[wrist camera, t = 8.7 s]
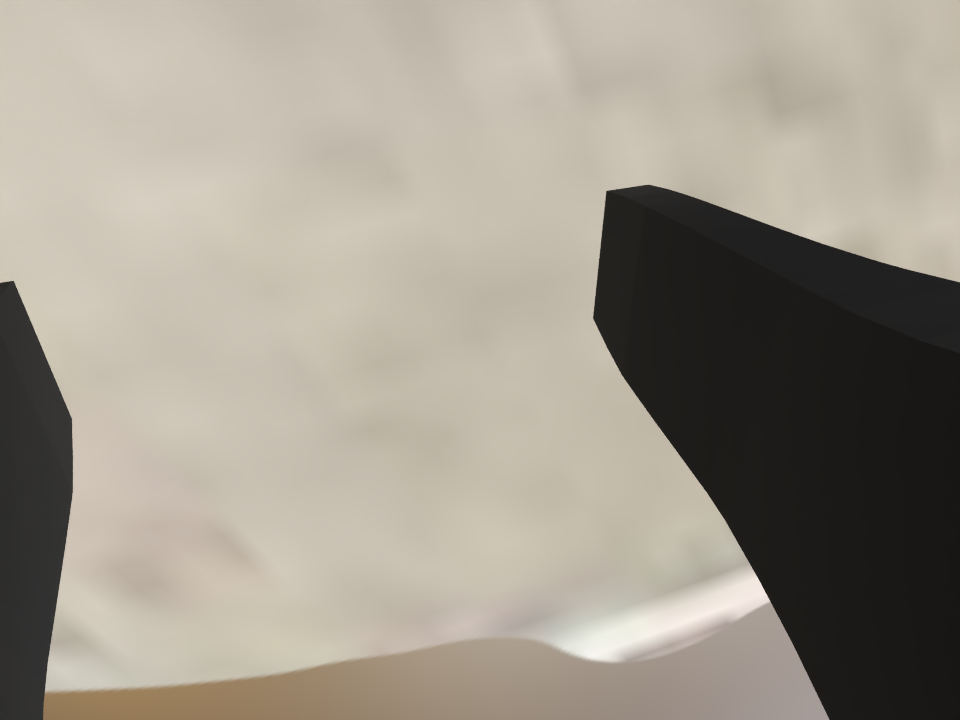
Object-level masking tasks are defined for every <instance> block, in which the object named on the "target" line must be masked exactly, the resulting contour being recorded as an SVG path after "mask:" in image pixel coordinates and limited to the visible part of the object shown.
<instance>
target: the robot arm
mask: <svg viewBox="0 0 960 720" xmlns="http://www.w3.org/2000/svg"><path fill="white" fill-rule="evenodd" d="M593 319H594V321H595V323H596V325H597V327H598V329H599V331H600V333H601V335H602V338H603V340H604V342H605V344H606V346H607V348H608V350H609V352H610V354H611V355H612V357H613V359H614V361H615V363H616V365H617V367H618V368H619V370H620V372H621V374H622V376H623V377H624V379H625V380H626V381H627V383H628V384H629V386H630V387H631V389H632V390H633V391H634V393H635V394H636V396H637V397H638V398H639V400H640V401H641V403H642V404H643V405H644V407H645V408H646V410H647V411H648V412H649V414H650V415H651V417H652V418H653V419H654V421H655V422H656V424H657V425H658V426H659V428H660V429H661V430H662V432H663V433H664V434H665V436H666V437H667V439H668V440H669V441H670V443H671V444H672V445H673V447H674V448H675V449H676V451H677V452H678V454H679V455H680V456H681V458H682V459H683V460H684V462H685V463H686V465H687V466H688V467H689V469H690V470H691V471H692V473H693V474H694V475H695V477H696V478H697V480H698V481H699V482H700V484H701V485H702V486H703V488H704V489H705V491H706V492H707V493H708V495H709V496H710V498H711V499H712V501H713V502H714V504H715V505H716V507H717V509H718V510H719V512H720V513H721V515H722V516H723V518H724V519H725V521H726V522H727V524H728V526H729V528H730V530H731V531H732V533H733V535H734V537H735V538H736V540H737V542H738V544H739V545H740V547H741V549H742V551H743V552H744V554H745V556H746V558H747V559H748V561H749V563H750V565H751V566H752V568H753V570H754V572H755V573H756V575H757V577H758V579H759V581H760V582H761V584H762V586H763V588H764V590H765V592H766V594H767V596H768V598H769V600H770V601H771V603H772V605H773V607H774V609H775V611H776V613H777V615H778V617H779V618H780V620H781V622H782V624H783V626H784V628H785V630H786V632H787V633H788V636H789V637H790V639H791V641H792V643H793V645H794V647H795V649H796V651H797V653H798V655H799V657H800V659H801V662H802V664H803V666H804V668H805V670H806V672H807V674H808V676H809V678H810V680H811V682H812V684H813V686H814V688H815V691H816V692H817V695H818V697H819V699H820V701H821V703H822V705H823V707H824V709H825V711H826V713H827V715H828V717H829V719H830V720H960V282H956V281H952V280H948V279H943V278H939V277H935V276H931V275H927V274H923V273H919V272H915V271H911V270H907V269H903V268H899V267H896V266H892V265H889V264H885V263H881V262H878V261H875V260H871V259H868V258H865V257H862V256H859V255H856V254H852V253H849V252H846V251H843V250H840V249H837V248H834V247H830V246H827V245H824V244H821V243H818V242H815V241H813V240H810V239H807V238H804V237H801V236H798V235H795V234H792V233H790V232H787V231H784V230H781V229H779V228H776V227H773V226H770V225H768V224H765V223H762V222H759V221H757V220H754V219H751V218H749V217H746V216H743V215H741V214H738V213H735V212H732V211H730V210H727V209H724V208H722V207H719V206H716V205H713V204H711V203H708V202H705V201H702V200H700V199H697V198H694V197H691V196H688V195H685V194H682V193H679V192H675V191H672V190H668V189H665V188H661V187H656V186H652V185H643V186H637V187H630V188H624V189H617V190H610V191H606V201H605V210H604V220H603V230H602V239H601V249H600V258H599V268H598V277H597V287H596V296H595V306H594V316H593ZM72 493H73V448H72V418H71V416H70V414H69V411H68V409H67V406H66V404H65V402H64V399H63V397H62V395H61V392H60V390H59V387H58V385H57V383H56V380H55V378H54V376H53V373H52V371H51V368H50V366H49V364H48V361H47V359H46V357H45V354H44V352H43V349H42V347H41V345H40V342H39V340H38V338H37V335H36V333H35V331H34V328H33V326H32V323H31V321H30V319H29V316H28V314H27V312H26V309H25V307H24V304H23V302H22V300H21V297H20V295H19V293H18V290H17V288H16V285H15V283H14V281H10V282H3V283H0V720H43V703H44V693H45V683H46V673H47V663H48V657H49V650H50V643H51V637H52V630H53V623H54V617H55V610H56V604H57V597H58V590H59V584H60V577H61V571H62V564H63V557H64V551H65V544H66V537H67V530H68V523H69V516H70V508H71V500H72Z"/></svg>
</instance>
